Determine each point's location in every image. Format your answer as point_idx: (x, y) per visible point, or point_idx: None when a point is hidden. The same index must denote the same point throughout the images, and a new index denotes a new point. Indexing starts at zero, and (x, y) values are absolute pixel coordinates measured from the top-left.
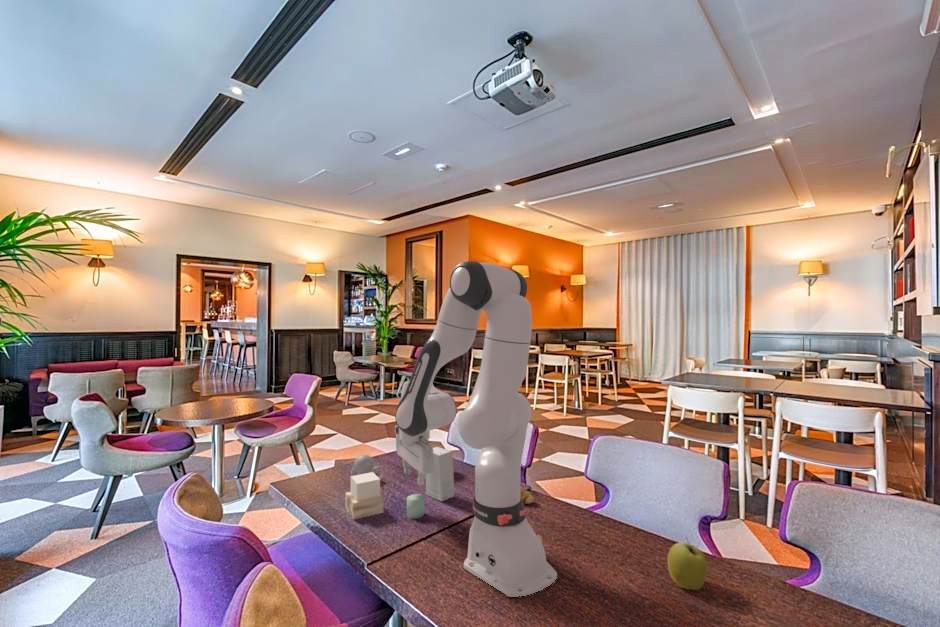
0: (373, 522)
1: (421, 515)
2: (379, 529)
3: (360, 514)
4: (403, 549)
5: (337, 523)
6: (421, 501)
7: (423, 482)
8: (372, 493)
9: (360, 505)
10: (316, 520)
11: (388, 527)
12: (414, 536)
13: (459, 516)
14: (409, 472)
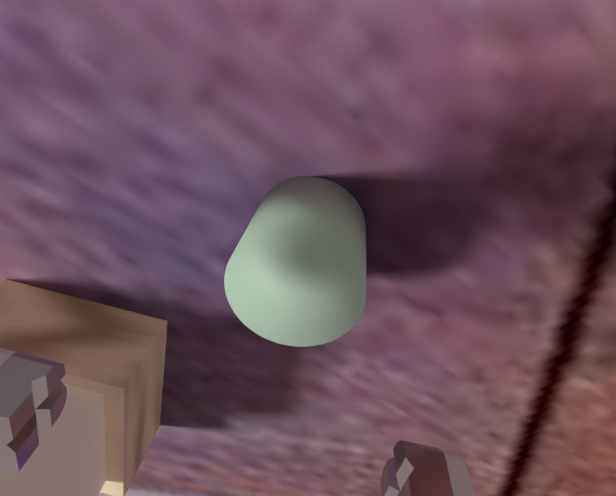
0: (235, 396)
1: (365, 229)
2: (313, 414)
3: (153, 418)
4: (535, 449)
5: (152, 463)
6: (365, 279)
7: (465, 481)
8: (90, 451)
9: (133, 459)
10: None
11: (327, 387)
12: (500, 371)
13: (611, 12)
14: (52, 387)
